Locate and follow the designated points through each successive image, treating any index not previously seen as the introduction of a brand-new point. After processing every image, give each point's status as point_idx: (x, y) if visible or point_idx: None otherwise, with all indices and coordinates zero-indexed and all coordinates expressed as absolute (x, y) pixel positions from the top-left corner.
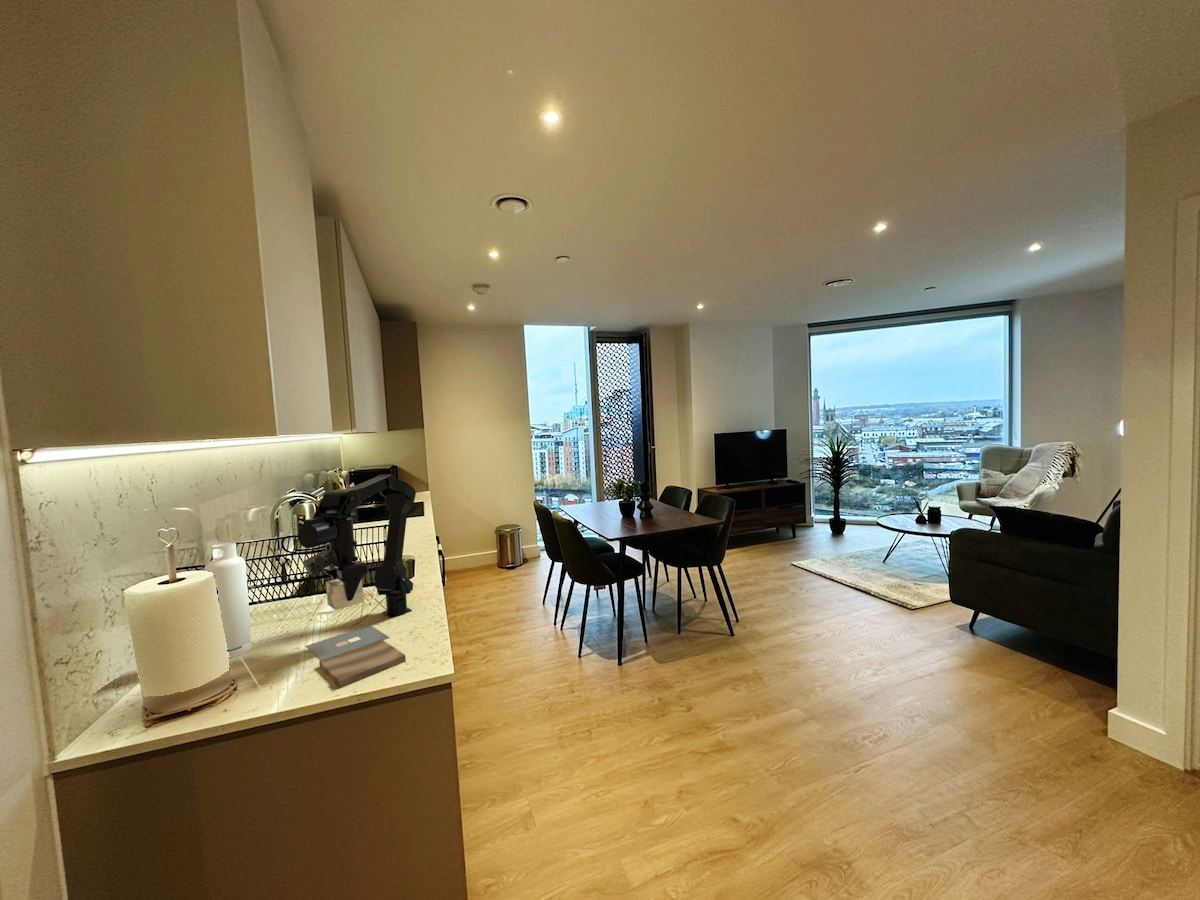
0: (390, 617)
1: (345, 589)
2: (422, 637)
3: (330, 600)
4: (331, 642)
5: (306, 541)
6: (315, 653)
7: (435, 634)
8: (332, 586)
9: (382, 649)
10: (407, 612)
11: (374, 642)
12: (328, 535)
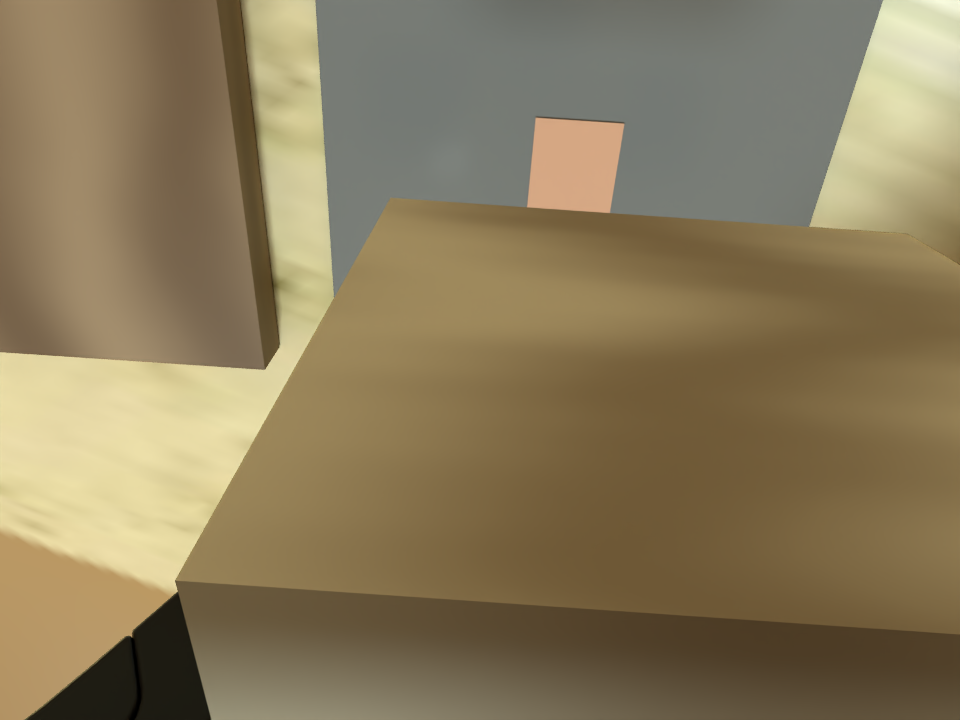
0: None
1: (133, 644)
2: (187, 525)
3: (735, 267)
4: (705, 124)
5: None
6: None
7: (172, 575)
8: (505, 559)
9: (39, 291)
10: None
11: (238, 314)
12: None
